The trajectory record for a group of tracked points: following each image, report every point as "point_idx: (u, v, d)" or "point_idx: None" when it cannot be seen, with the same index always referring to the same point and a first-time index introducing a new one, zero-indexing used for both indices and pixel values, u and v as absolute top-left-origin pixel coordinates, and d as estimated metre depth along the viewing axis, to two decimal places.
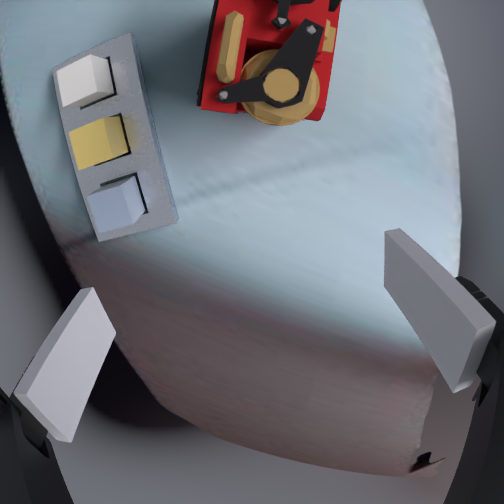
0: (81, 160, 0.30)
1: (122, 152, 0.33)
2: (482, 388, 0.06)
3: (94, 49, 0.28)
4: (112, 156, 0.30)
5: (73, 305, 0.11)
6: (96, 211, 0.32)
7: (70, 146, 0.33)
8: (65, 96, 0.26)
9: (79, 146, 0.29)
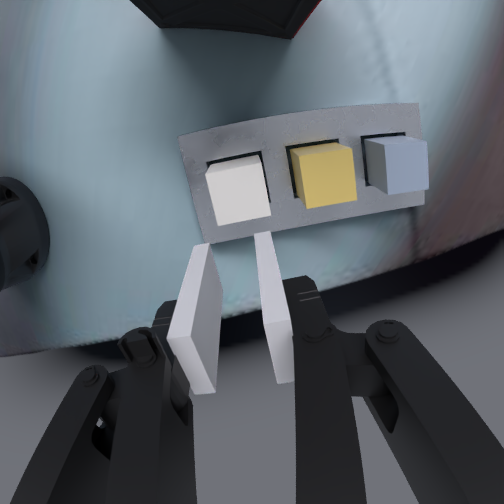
0: (346, 194, 0.26)
1: (339, 144, 0.27)
2: None
3: (192, 183, 0.30)
4: (349, 149, 0.25)
5: (197, 257, 0.13)
6: (406, 185, 0.26)
7: (313, 220, 0.33)
8: (257, 211, 0.27)
9: (328, 194, 0.26)
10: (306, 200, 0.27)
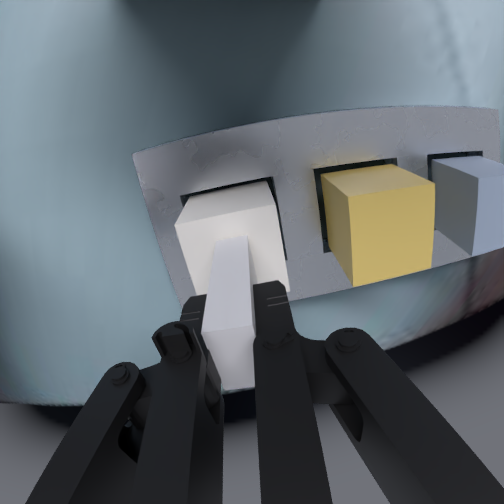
0: (416, 259, 0.15)
1: (403, 170, 0.16)
2: None
3: (160, 231, 0.19)
4: (431, 184, 0.13)
5: (221, 252, 0.13)
6: (495, 240, 0.14)
7: (350, 283, 0.21)
8: None
9: (390, 262, 0.15)
10: (354, 273, 0.15)
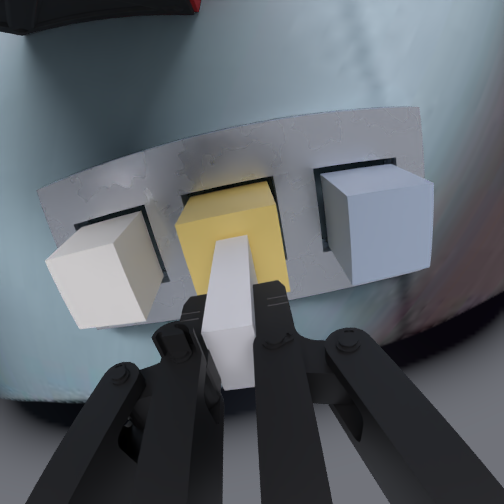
0: None
1: (265, 188, 0.17)
2: None
3: None
4: (271, 206, 0.14)
5: (221, 252, 0.13)
6: (389, 266, 0.15)
7: None
8: (124, 314, 0.16)
9: None
10: None
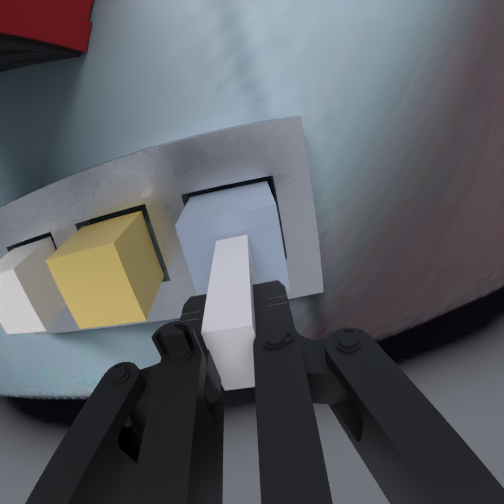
0: (125, 312, 0.16)
1: (129, 221, 0.17)
2: None
3: None
4: (111, 244, 0.14)
5: (221, 252, 0.13)
6: None
7: None
8: (31, 324, 0.16)
9: (100, 312, 0.16)
10: (75, 318, 0.16)
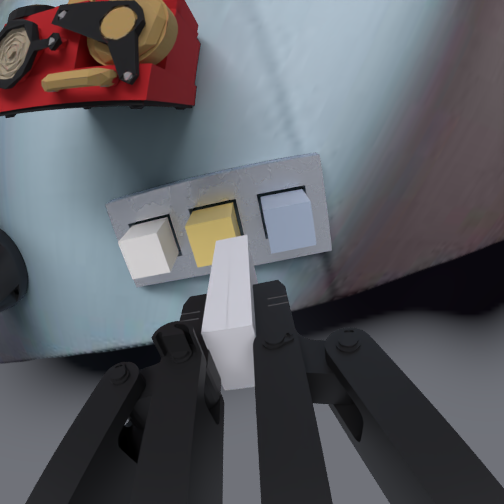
0: None
1: (230, 207, 0.33)
2: None
3: None
4: (228, 217, 0.30)
5: (221, 252, 0.13)
6: (290, 244, 0.32)
7: None
8: (159, 269, 0.33)
9: None
10: (196, 261, 0.32)
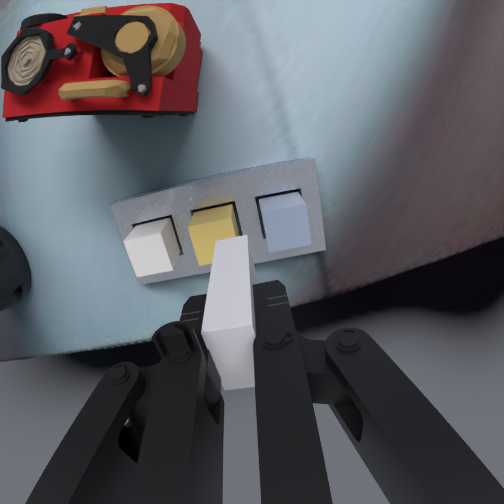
0: None
1: (230, 209, 0.35)
2: None
3: None
4: (229, 218, 0.32)
5: (221, 252, 0.13)
6: (287, 243, 0.34)
7: None
8: (162, 267, 0.35)
9: None
10: (198, 259, 0.34)
